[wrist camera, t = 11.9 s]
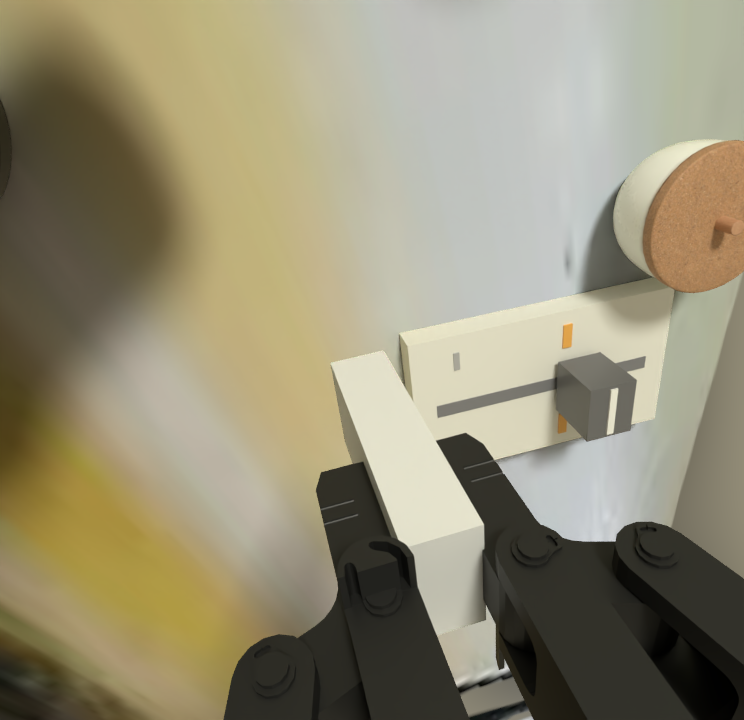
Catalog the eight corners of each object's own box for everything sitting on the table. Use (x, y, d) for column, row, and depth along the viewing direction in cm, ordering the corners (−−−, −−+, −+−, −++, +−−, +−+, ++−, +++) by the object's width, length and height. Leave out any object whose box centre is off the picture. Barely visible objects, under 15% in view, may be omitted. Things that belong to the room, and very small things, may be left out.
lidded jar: (582, 271, 47) (655, 313, 39) (595, 139, 42) (682, 156, 34) (692, 252, 49) (783, 288, 41) (717, 122, 44) (828, 134, 36)
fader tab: (555, 409, 50) (587, 442, 46) (558, 362, 48) (592, 392, 43) (596, 399, 51) (631, 431, 46) (600, 352, 48) (638, 380, 44)
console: (413, 462, 53) (422, 479, 51) (399, 333, 46) (408, 346, 44) (638, 405, 56) (655, 419, 54) (655, 276, 49) (676, 286, 47)
